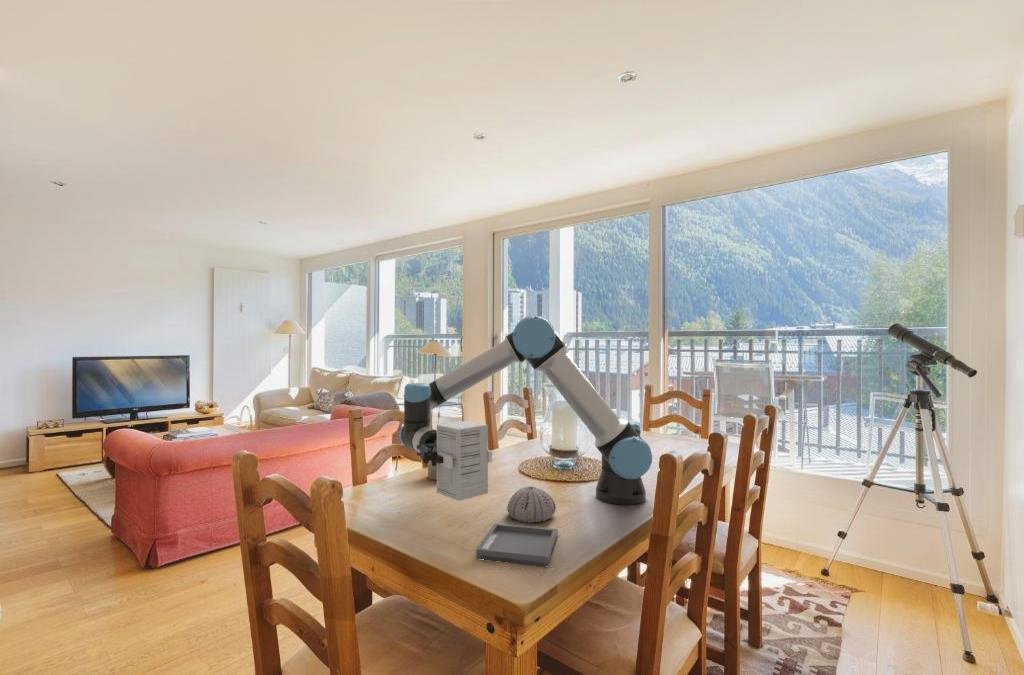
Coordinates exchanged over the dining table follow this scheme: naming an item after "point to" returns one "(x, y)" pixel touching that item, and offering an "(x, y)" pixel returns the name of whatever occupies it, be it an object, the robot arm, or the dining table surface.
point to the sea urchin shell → (531, 505)
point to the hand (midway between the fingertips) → (471, 459)
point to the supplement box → (463, 459)
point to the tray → (518, 544)
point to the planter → (432, 471)
